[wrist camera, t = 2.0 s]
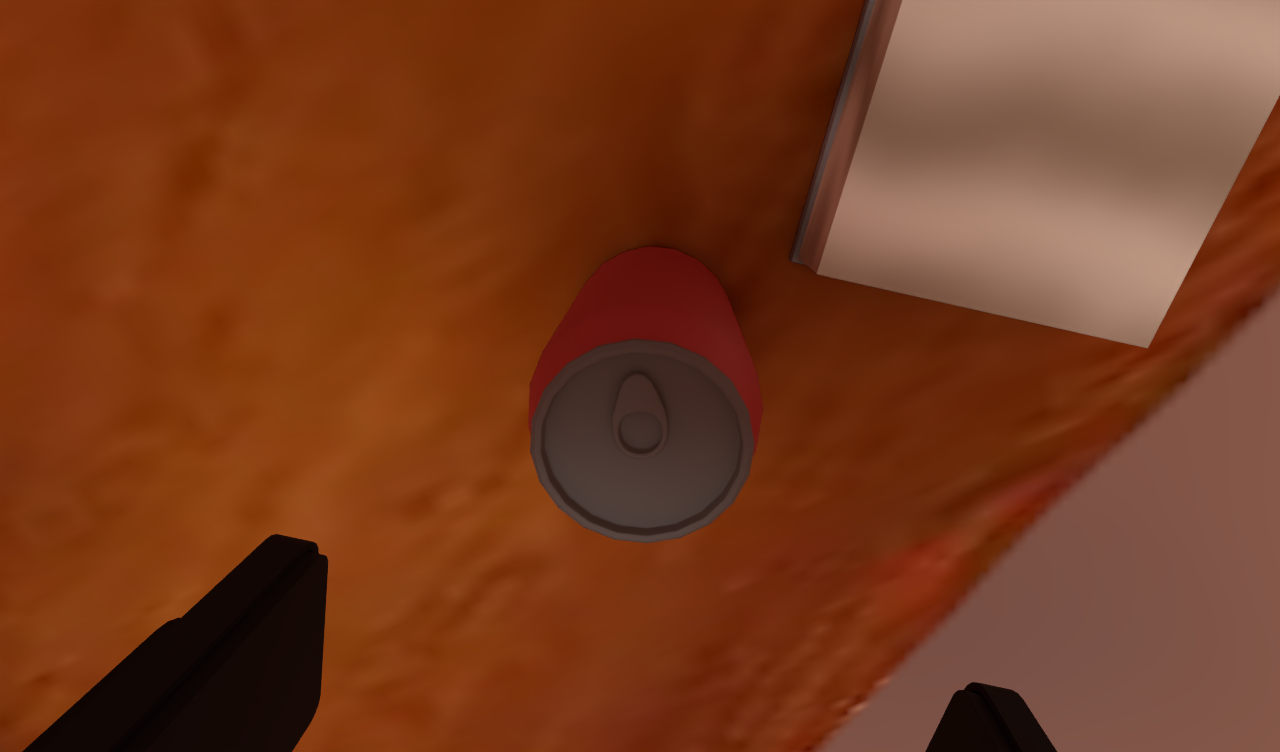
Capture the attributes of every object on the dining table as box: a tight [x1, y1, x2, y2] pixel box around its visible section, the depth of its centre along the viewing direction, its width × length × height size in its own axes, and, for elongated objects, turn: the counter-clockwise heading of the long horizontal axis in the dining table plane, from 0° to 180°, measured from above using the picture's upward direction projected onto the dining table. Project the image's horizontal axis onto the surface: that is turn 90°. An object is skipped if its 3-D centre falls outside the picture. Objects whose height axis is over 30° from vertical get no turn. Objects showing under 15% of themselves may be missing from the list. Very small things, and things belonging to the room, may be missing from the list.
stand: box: [789, 0, 1280, 348], centre depth 22 cm, size 12×12×4 cm
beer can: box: [529, 246, 763, 543], centre depth 21 cm, size 7×7×12 cm
